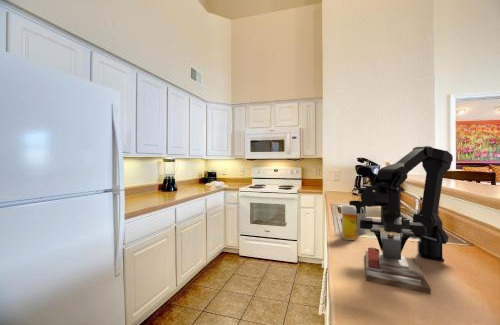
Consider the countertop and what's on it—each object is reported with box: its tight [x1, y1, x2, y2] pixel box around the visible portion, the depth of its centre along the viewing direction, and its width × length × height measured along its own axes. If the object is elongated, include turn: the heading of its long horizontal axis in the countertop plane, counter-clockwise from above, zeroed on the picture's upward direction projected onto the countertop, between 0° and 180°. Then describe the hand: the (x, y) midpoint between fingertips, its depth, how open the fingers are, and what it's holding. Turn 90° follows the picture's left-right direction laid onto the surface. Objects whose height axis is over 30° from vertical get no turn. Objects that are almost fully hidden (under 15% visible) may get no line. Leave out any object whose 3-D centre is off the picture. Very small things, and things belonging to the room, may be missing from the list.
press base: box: [364, 250, 432, 295], centre depth 72 cm, size 15×21×3 cm
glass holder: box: [348, 200, 368, 235], centre depth 112 cm, size 9×14×15 cm, turn 172°
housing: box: [380, 232, 402, 260], centre depth 76 cm, size 5×7×7 cm
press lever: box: [365, 247, 382, 273], centre depth 68 cm, size 4×4×7 cm
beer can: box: [341, 204, 357, 241], centre depth 103 cm, size 6×6×15 cm
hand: (390, 251), depth 76 cm, fingers closed on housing, 5 cm apart
